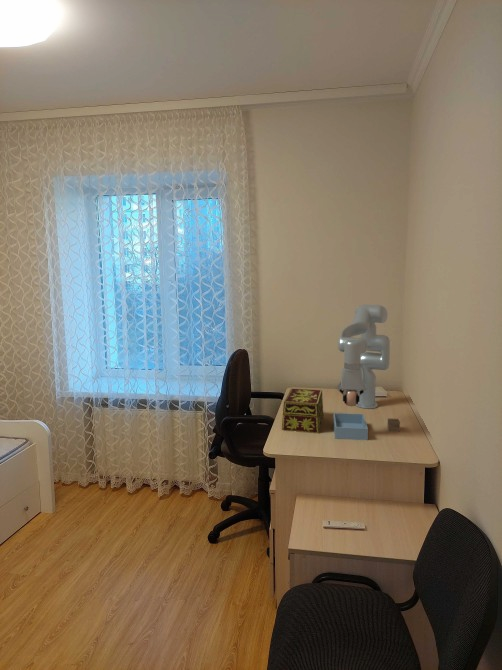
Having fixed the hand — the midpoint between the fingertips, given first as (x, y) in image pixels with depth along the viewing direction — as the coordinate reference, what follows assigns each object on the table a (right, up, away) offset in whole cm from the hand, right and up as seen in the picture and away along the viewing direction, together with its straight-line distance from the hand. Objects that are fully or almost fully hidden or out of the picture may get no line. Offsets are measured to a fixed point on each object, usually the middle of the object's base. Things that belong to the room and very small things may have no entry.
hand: (351, 402), depth 220 cm
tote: (+1, -15, +7) cm, 17 cm away
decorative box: (-21, -14, +20) cm, 32 cm away
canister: (0, -1, 0) cm, 1 cm away
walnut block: (+23, -15, +9) cm, 29 cm away
